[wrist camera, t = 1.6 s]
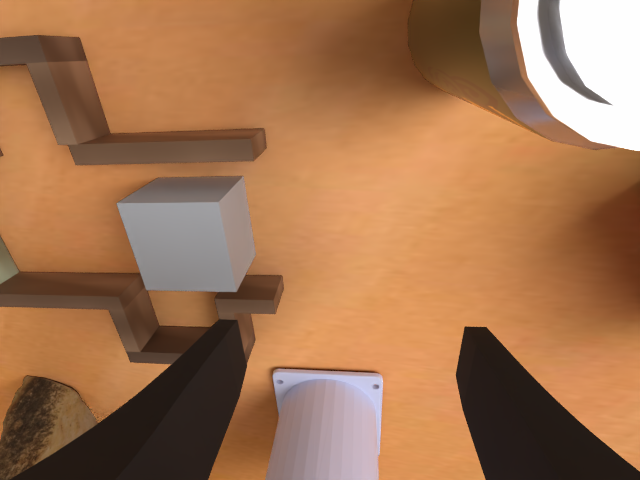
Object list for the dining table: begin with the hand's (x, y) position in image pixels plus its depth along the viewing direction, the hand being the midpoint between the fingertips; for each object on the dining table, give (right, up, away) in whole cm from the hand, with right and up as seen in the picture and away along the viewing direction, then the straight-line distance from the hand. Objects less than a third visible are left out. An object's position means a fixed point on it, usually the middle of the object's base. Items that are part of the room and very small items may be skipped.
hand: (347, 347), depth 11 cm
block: (-7, +5, +10) cm, 13 cm away
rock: (-23, -13, +21) cm, 34 cm away
